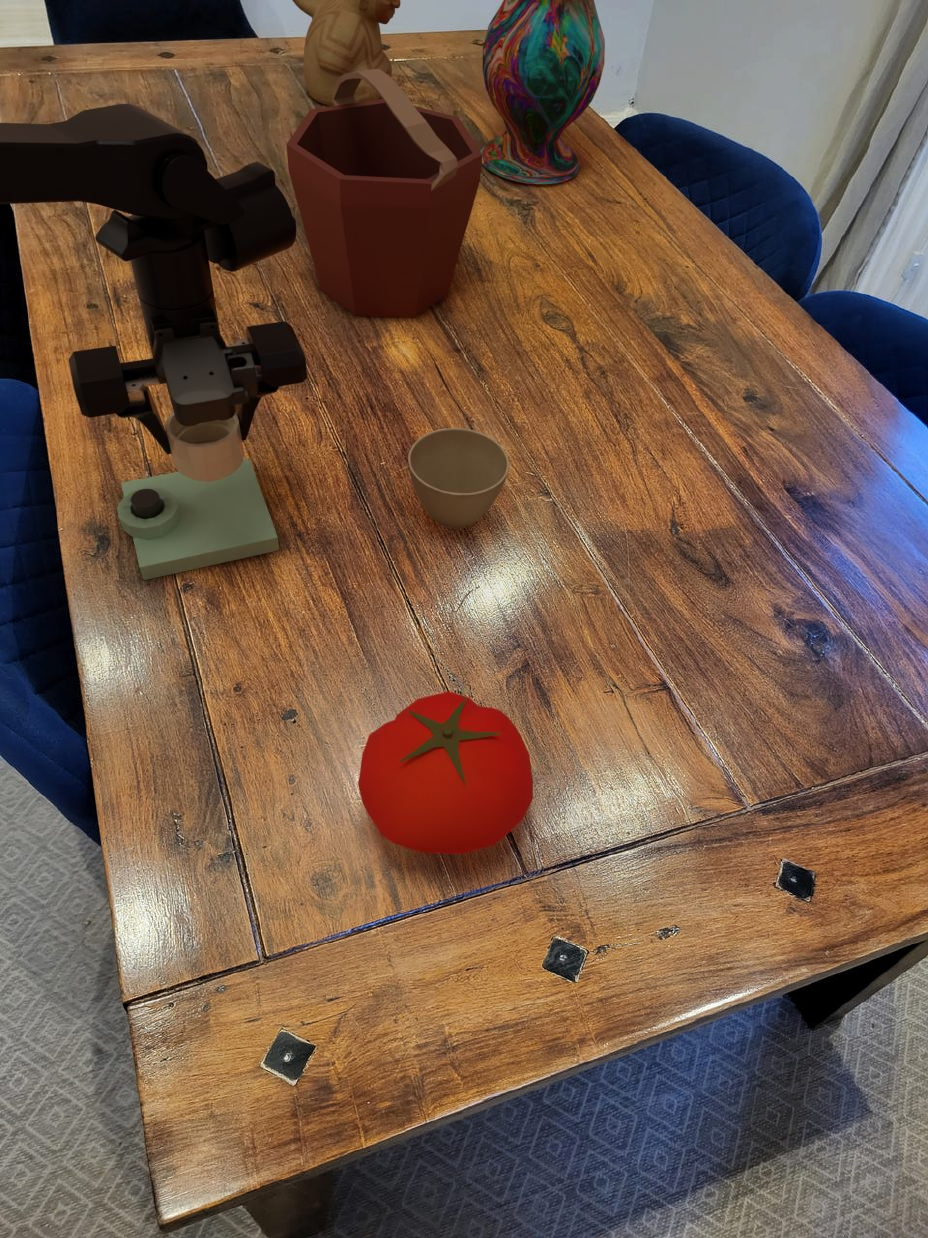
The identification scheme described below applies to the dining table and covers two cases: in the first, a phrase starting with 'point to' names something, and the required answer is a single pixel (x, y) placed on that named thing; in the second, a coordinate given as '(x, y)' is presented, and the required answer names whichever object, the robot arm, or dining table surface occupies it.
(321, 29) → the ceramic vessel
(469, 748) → the tomato
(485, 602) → the dining table surface
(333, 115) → the bucket
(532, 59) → the vase
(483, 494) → the brown cup
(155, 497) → the button
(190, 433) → the bowl
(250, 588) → the dining table surface
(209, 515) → the scale
